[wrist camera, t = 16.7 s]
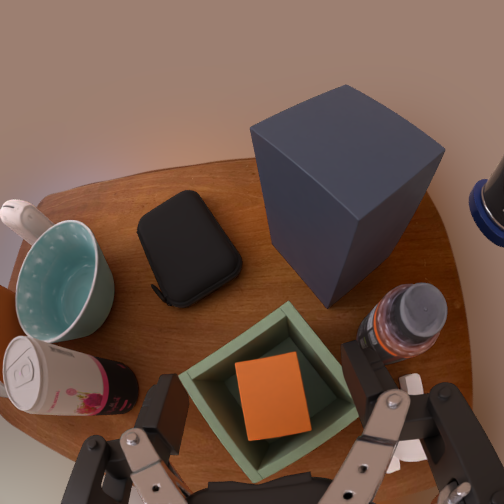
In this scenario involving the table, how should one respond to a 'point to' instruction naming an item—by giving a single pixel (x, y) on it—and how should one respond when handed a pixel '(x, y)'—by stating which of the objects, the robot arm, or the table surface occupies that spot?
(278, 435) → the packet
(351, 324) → the table surface
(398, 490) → the table surface
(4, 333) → the orange grey trash bin
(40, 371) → the beverage can
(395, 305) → the supplement bottle
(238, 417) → the open box
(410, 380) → the cable organizer
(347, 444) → the table surface
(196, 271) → the carrying case
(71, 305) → the bowl
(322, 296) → the stand
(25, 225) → the photo printer
